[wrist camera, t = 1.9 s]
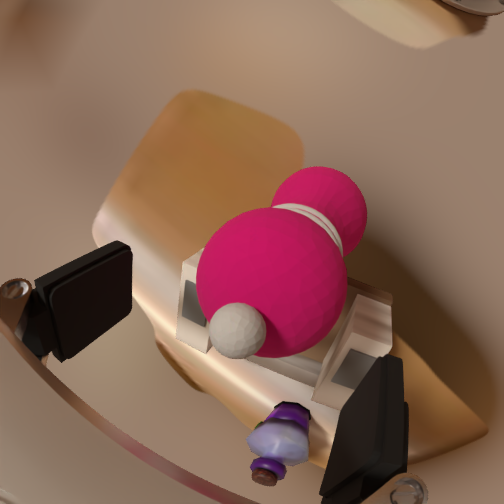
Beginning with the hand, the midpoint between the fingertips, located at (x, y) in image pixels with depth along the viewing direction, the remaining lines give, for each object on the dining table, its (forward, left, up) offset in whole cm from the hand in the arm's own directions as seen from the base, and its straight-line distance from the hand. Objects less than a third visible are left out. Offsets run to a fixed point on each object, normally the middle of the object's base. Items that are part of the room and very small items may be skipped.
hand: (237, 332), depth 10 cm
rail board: (+11, 0, -19) cm, 22 cm away
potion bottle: (+28, +6, -19) cm, 35 cm away
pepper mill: (-1, 0, -19) cm, 19 cm away
